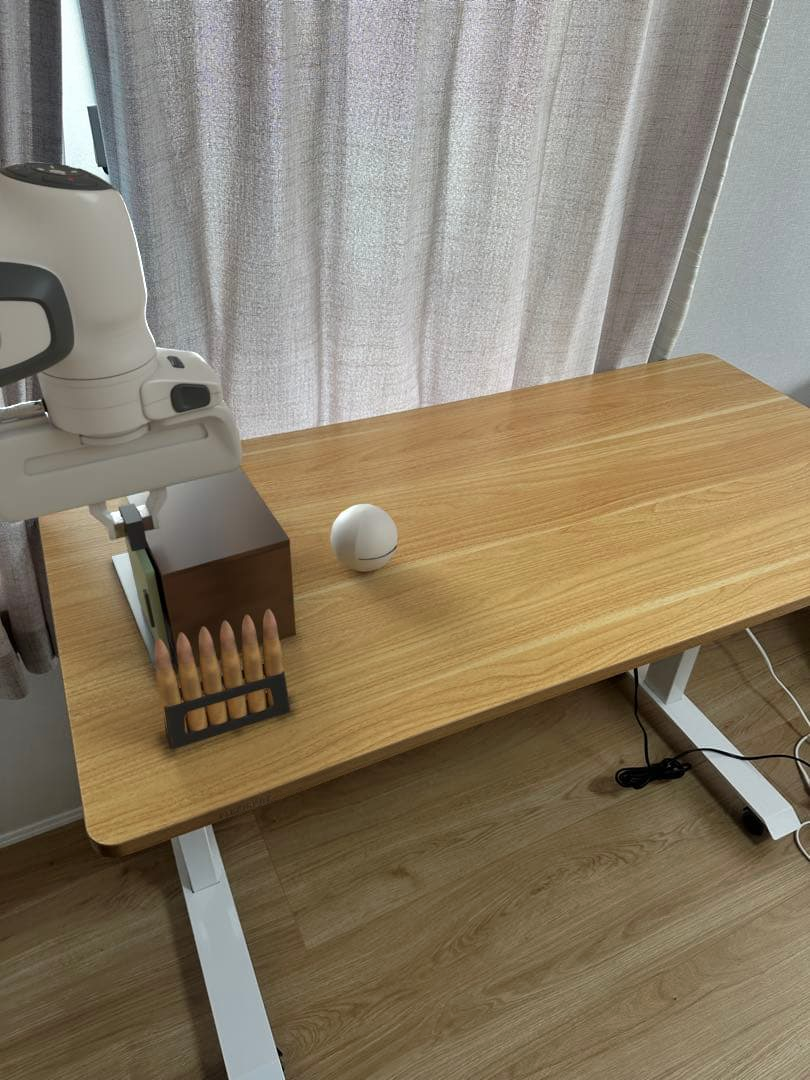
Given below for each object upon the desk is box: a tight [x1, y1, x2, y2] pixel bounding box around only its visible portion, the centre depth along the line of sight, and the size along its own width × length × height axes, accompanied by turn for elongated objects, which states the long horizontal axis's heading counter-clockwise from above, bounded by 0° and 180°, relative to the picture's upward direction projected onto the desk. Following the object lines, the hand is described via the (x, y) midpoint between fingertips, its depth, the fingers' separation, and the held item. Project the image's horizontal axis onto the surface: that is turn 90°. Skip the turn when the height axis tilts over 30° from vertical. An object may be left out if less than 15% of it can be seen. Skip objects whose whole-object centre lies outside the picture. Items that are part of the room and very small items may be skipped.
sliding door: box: [118, 503, 172, 661], centre depth 74 cm, size 1×10×14 cm, turn 28°
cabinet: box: [110, 464, 297, 675], centre depth 80 cm, size 14×20×12 cm
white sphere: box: [329, 503, 417, 573], centre depth 87 cm, size 10×7×7 cm
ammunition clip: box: [154, 609, 291, 750], centre depth 67 cm, size 11×2×12 cm, turn 115°
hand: (134, 530), depth 71 cm, fingers closed on sliding door
